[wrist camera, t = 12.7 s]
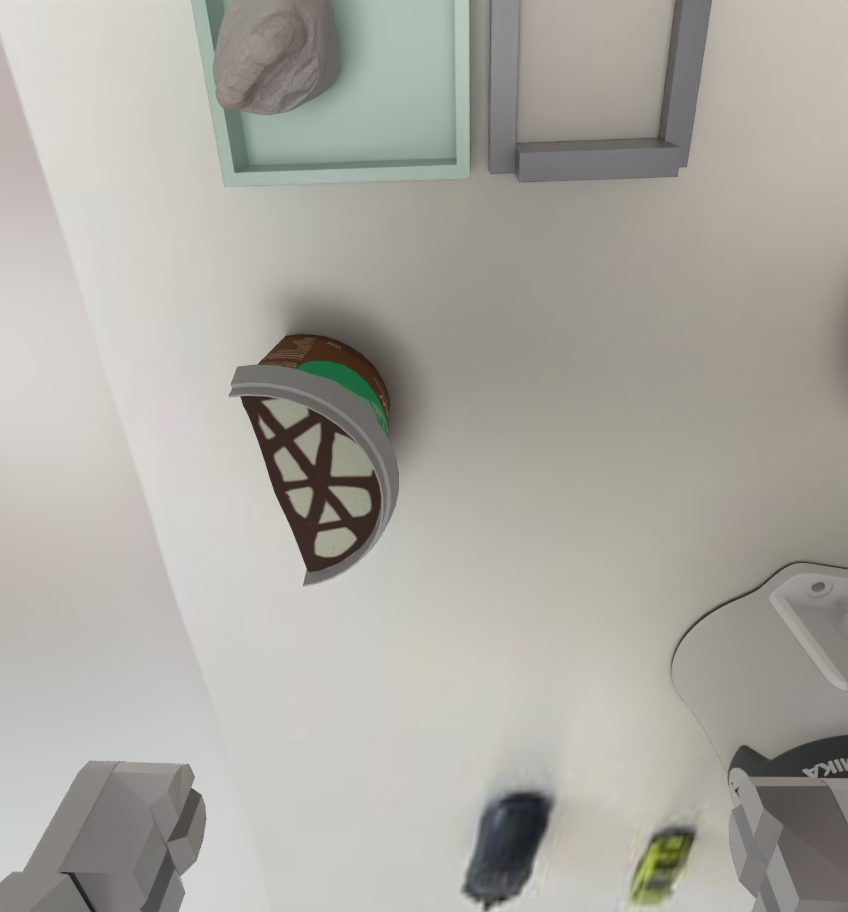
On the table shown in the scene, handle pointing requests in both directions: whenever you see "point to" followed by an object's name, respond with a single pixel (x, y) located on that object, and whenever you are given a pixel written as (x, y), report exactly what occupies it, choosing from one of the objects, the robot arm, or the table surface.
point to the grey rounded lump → (275, 54)
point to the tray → (359, 101)
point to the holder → (596, 154)
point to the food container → (324, 447)
